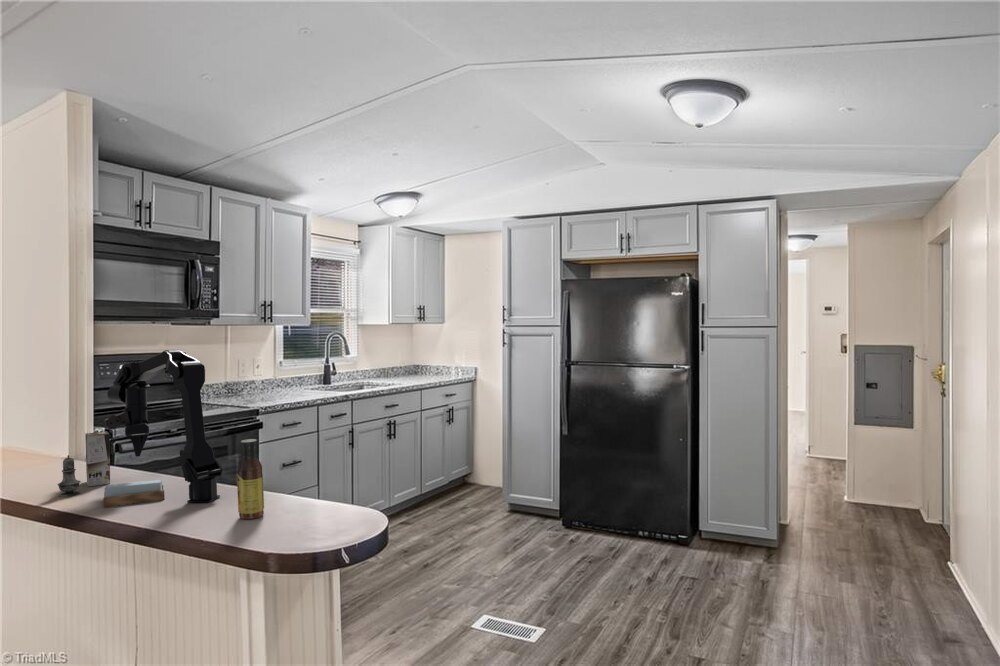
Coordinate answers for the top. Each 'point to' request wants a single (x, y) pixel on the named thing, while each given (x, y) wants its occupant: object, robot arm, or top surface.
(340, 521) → the top surface
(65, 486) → the salt shaker
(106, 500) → the cradle
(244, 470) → the sauce bottle
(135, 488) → the pale grey-blue bar
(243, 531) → the top surface
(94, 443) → the coffee box
